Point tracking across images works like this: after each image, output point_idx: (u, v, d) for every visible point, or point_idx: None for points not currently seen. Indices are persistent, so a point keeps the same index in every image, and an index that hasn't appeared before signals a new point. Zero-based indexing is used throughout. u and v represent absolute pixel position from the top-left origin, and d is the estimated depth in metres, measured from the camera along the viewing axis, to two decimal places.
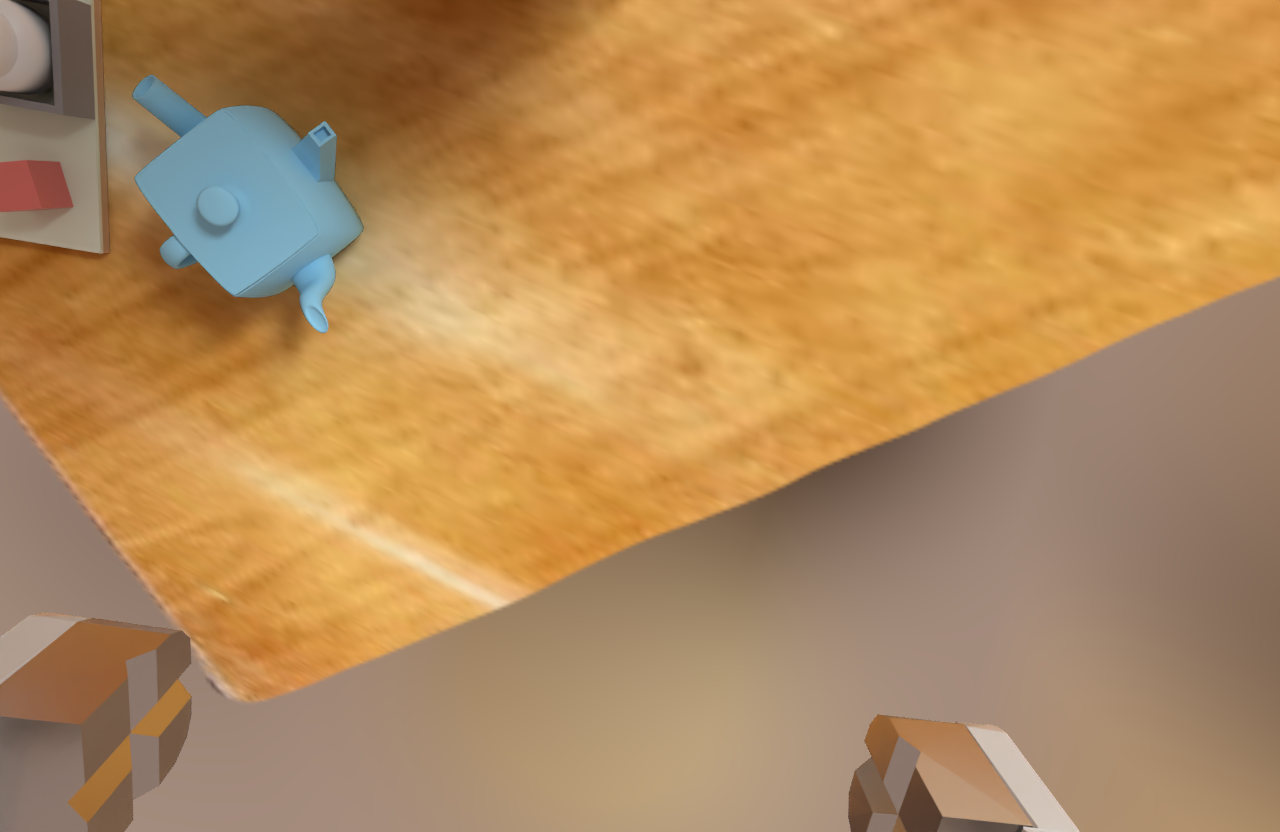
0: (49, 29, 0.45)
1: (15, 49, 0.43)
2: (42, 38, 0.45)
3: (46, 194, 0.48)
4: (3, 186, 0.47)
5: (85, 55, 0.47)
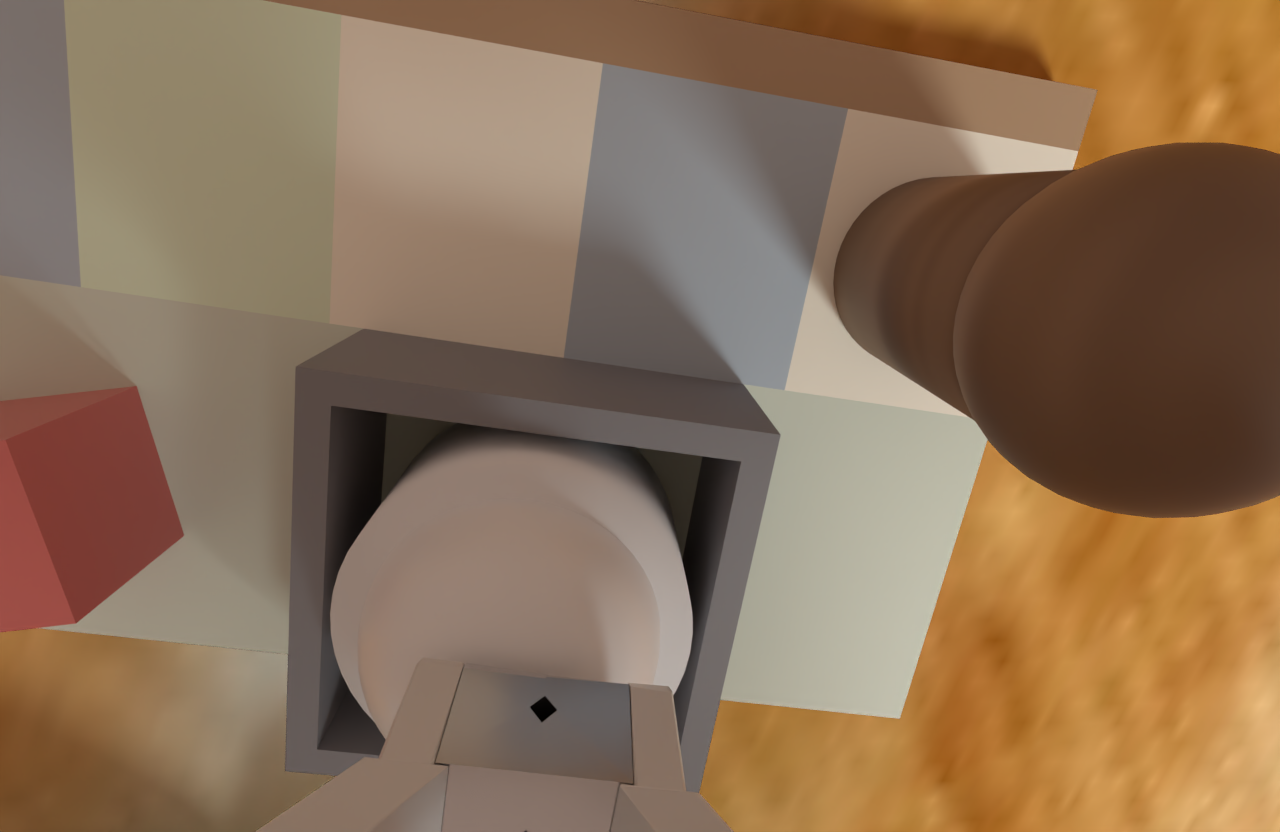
0: None
1: None
2: None
3: None
4: None
5: None
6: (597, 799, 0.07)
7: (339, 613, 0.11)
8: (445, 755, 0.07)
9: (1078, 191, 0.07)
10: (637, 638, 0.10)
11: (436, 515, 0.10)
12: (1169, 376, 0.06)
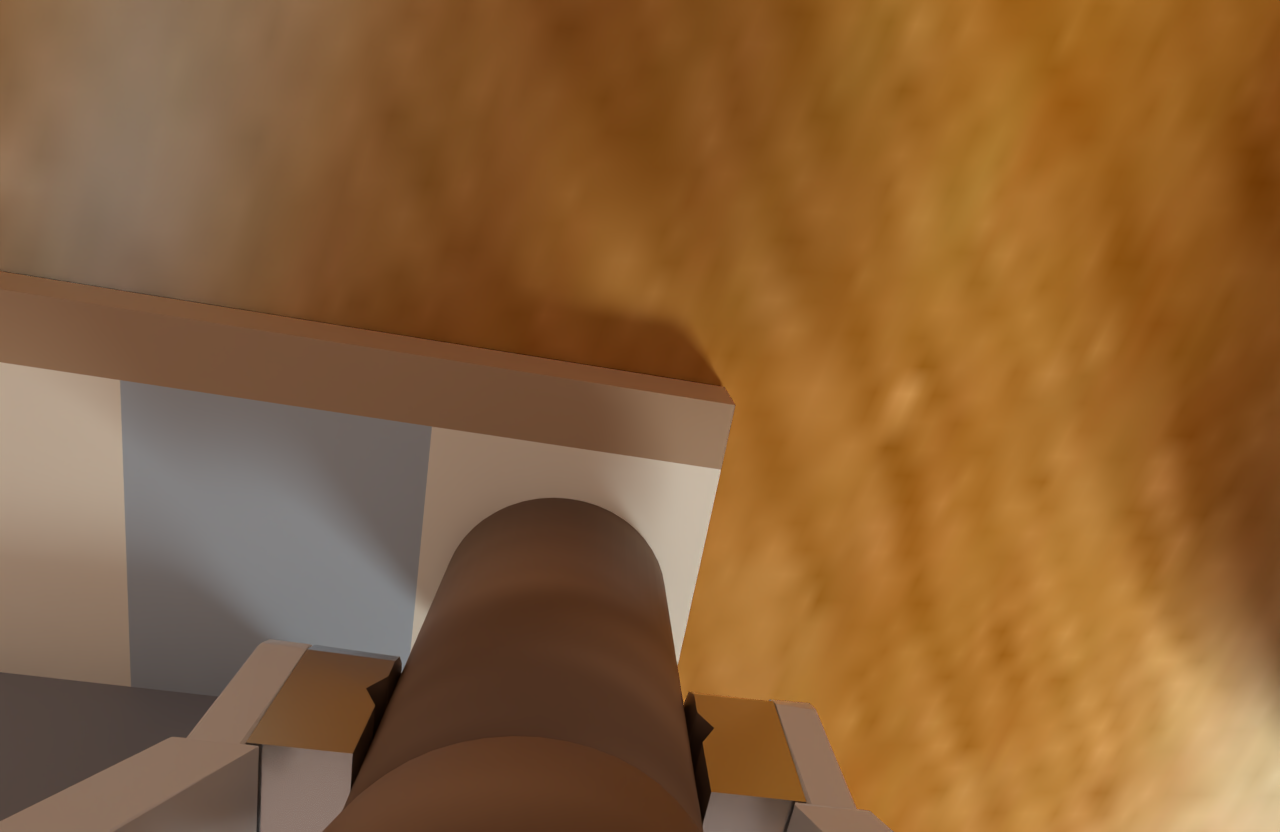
0: None
1: None
2: None
3: None
4: None
5: None
6: (770, 817, 0.07)
7: None
8: (260, 735, 0.07)
9: None
10: None
11: None
12: None
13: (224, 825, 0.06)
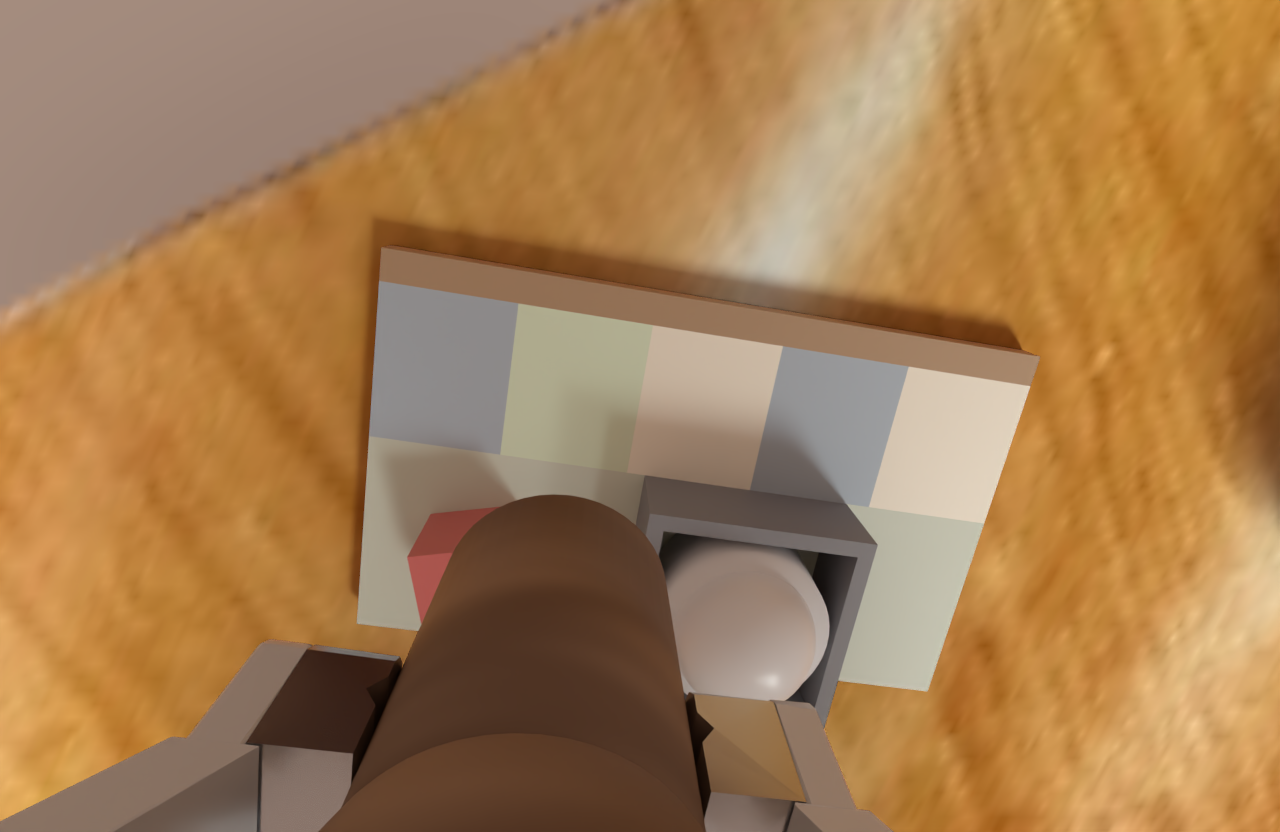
0: None
1: None
2: None
3: None
4: None
5: None
6: (770, 817, 0.07)
7: None
8: (260, 734, 0.07)
9: None
10: (811, 638, 0.21)
11: (712, 578, 0.22)
12: None
13: (224, 825, 0.06)
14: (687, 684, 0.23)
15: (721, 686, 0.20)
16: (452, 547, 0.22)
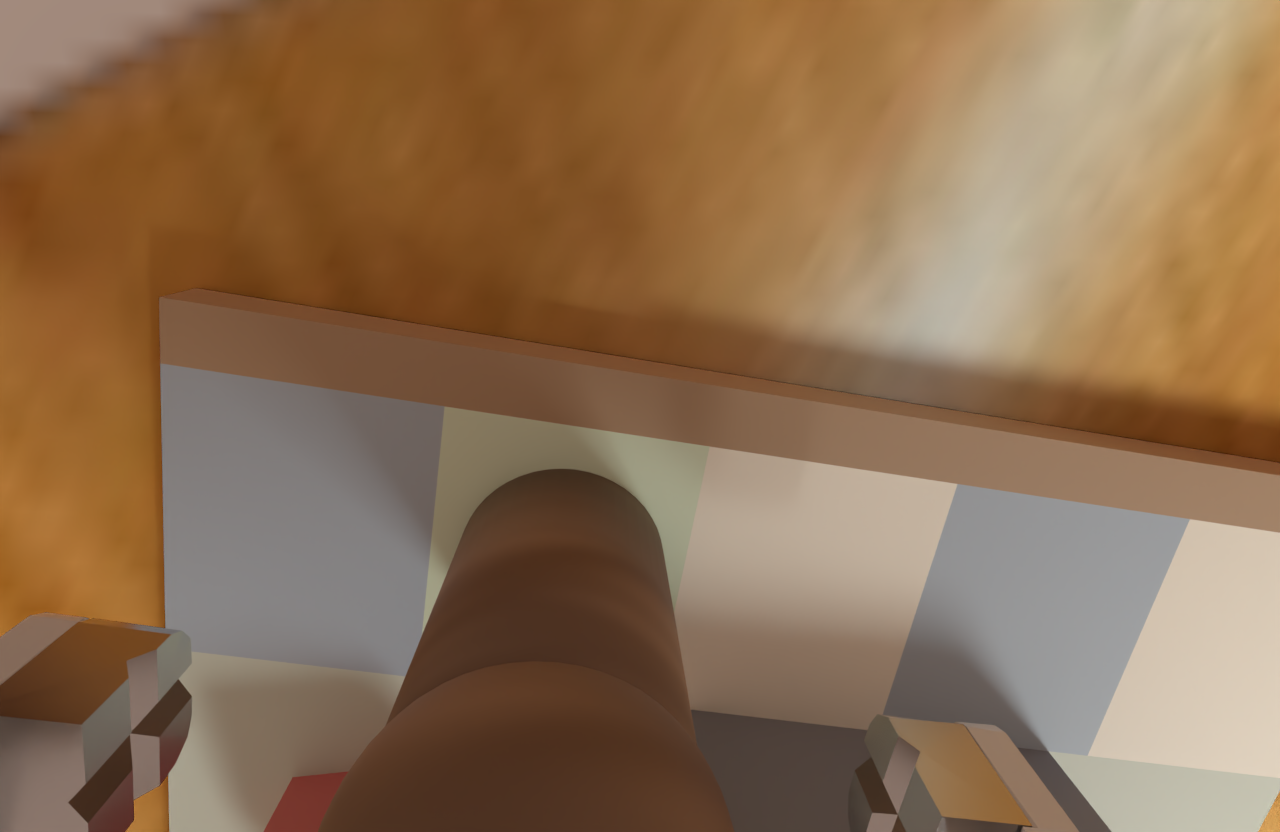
0: None
1: None
2: None
3: None
4: None
5: None
6: None
7: None
8: None
9: (386, 766, 0.06)
10: None
11: None
12: None
13: None
14: None
15: None
16: None
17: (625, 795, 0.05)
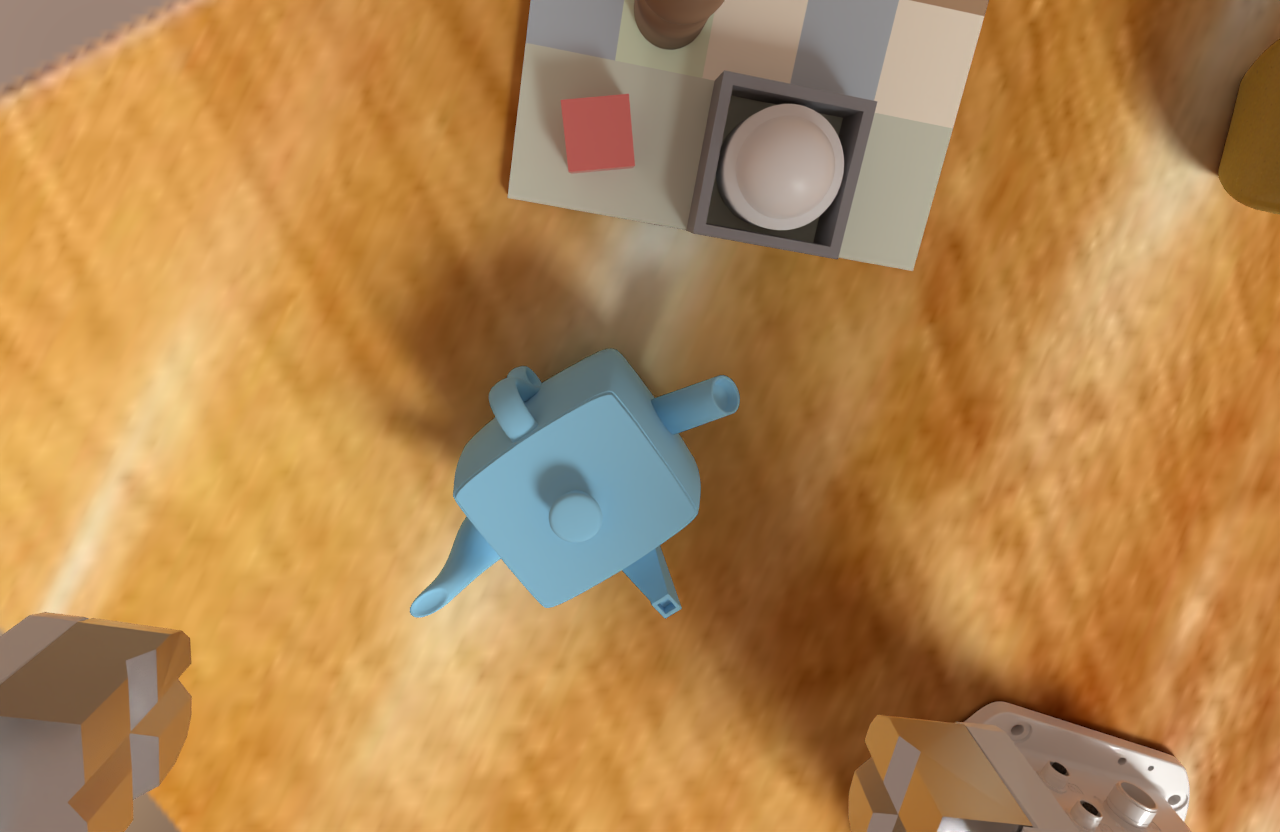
0: None
1: (770, 217, 0.33)
2: None
3: None
4: (597, 121, 0.32)
5: None
6: None
7: (729, 157, 0.32)
8: None
9: None
10: (832, 154, 0.31)
11: (765, 121, 0.32)
12: None
13: None
14: (746, 208, 0.33)
15: (772, 175, 0.31)
16: (589, 98, 0.32)
17: None
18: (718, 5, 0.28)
